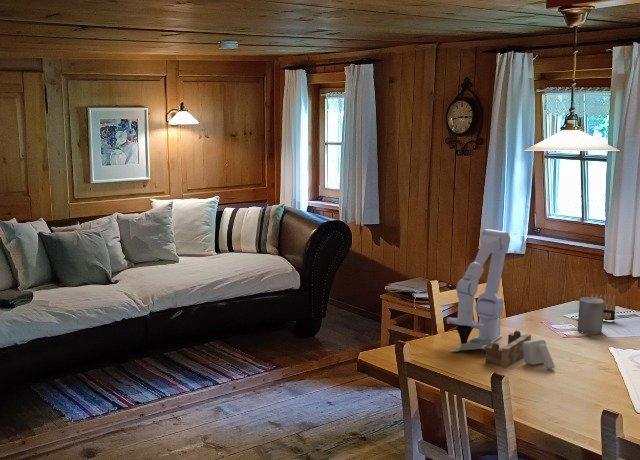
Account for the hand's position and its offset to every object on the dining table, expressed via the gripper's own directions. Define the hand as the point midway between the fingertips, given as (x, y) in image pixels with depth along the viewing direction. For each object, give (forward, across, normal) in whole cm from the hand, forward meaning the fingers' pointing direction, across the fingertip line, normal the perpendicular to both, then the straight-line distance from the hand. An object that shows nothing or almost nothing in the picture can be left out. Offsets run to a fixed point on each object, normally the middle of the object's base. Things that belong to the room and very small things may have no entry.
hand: (463, 344), depth 292 cm
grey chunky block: (+2, +31, -1) cm, 31 cm away
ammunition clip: (+2, +30, +74) cm, 80 cm away
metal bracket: (+2, +5, -1) cm, 5 cm away
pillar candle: (+2, +31, +54) cm, 62 cm away
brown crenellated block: (+1, +19, 0) cm, 19 cm away
